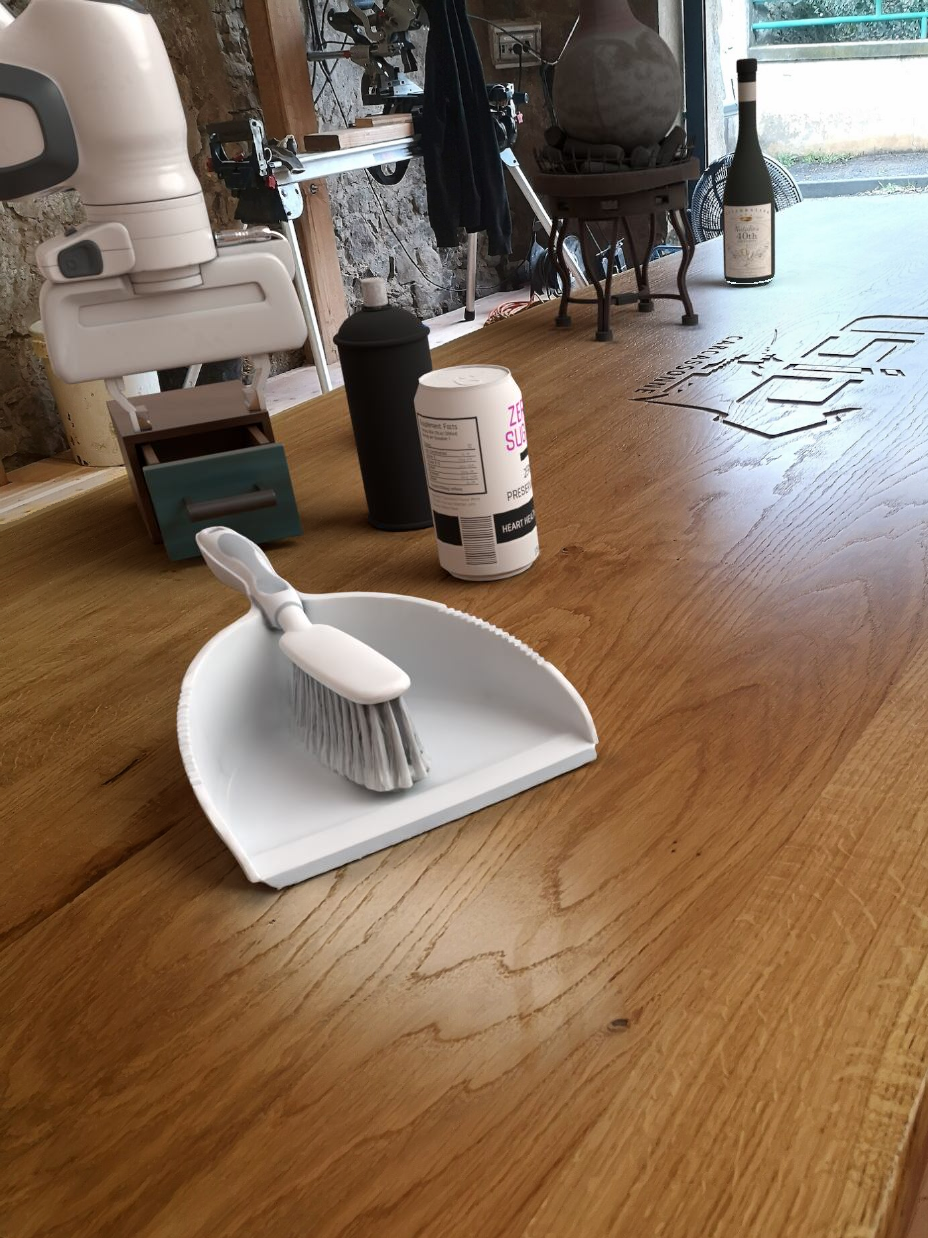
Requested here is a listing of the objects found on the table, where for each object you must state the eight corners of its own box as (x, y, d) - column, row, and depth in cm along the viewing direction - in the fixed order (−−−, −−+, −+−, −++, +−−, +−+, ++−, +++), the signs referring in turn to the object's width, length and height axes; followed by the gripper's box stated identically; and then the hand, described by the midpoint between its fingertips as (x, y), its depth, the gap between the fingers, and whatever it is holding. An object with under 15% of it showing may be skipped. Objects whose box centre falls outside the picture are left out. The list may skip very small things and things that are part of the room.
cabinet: (292, 516, 116) (268, 411, 111) (153, 544, 112) (121, 436, 107) (262, 476, 127) (239, 379, 122) (135, 500, 123) (105, 401, 118)
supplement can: (431, 558, 105) (400, 372, 96) (524, 540, 107) (502, 357, 98) (453, 591, 98) (422, 395, 90) (552, 571, 100) (531, 378, 92)
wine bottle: (772, 287, 193) (771, 58, 176) (721, 288, 194) (715, 61, 177) (776, 277, 199) (776, 55, 182) (727, 278, 201) (722, 58, 184)
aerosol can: (419, 536, 109) (378, 290, 98) (348, 524, 113) (300, 287, 102) (475, 506, 115) (441, 271, 104) (405, 496, 119) (366, 268, 108)
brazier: (723, 329, 170) (713, -82, 145) (562, 349, 166) (522, -69, 141) (682, 301, 188) (666, -68, 163) (536, 318, 185) (496, -57, 159)
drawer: (315, 550, 105) (295, 458, 101) (178, 579, 102) (150, 485, 97) (272, 493, 119) (253, 410, 115) (150, 517, 116) (125, 432, 111)
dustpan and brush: (254, 904, 65) (207, 745, 59) (79, 692, 87) (33, 563, 82) (616, 754, 75) (604, 608, 70) (376, 600, 98) (352, 480, 93)
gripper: (278, 218, 102) (314, 392, 110) (14, 251, 96) (72, 433, 104) (295, 226, 98) (331, 407, 105) (18, 261, 91) (78, 451, 99)
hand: (200, 420), depth 104 cm, fingers open, 8 cm apart
